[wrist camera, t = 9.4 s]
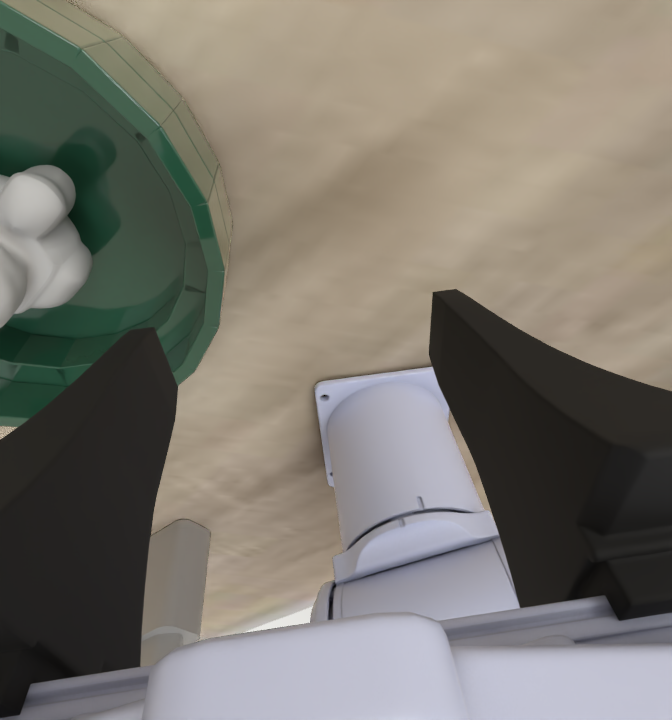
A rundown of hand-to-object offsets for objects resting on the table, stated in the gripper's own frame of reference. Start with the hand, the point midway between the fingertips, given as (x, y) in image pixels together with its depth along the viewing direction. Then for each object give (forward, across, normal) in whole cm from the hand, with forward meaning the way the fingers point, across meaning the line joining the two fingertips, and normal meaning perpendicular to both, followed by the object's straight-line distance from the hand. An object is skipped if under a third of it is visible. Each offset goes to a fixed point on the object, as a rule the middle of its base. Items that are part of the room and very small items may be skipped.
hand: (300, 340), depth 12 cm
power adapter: (+10, +12, +24) cm, 29 cm away
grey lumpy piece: (+10, +10, -1) cm, 14 cm away
